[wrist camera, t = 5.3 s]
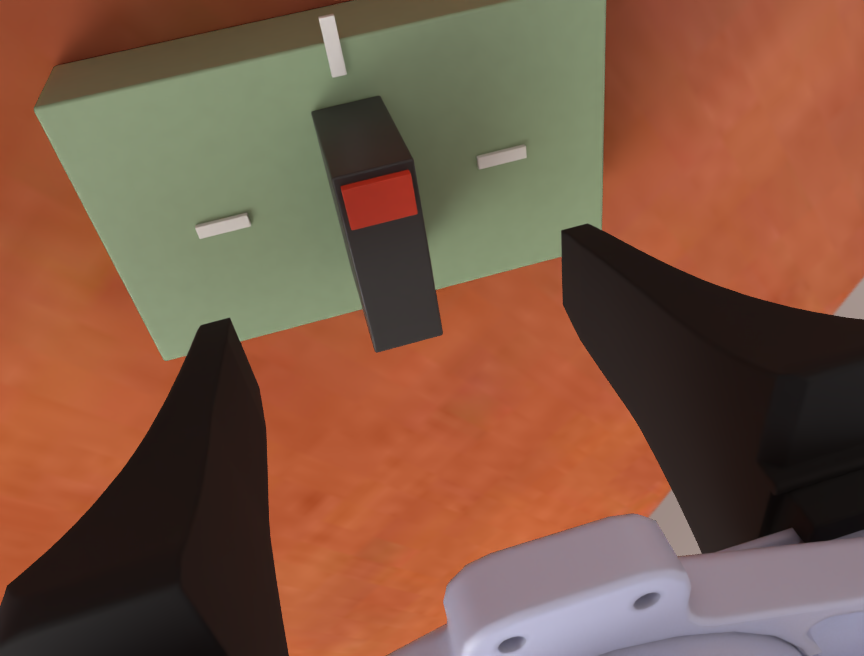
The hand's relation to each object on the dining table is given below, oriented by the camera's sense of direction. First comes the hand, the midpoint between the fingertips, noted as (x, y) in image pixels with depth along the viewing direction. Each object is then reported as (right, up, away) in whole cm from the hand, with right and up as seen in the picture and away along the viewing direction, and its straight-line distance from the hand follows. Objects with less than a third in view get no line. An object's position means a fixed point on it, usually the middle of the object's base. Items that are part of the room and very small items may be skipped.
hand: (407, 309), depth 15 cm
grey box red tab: (-1, +3, +4) cm, 6 cm away
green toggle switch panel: (-2, +5, +7) cm, 9 cm away
